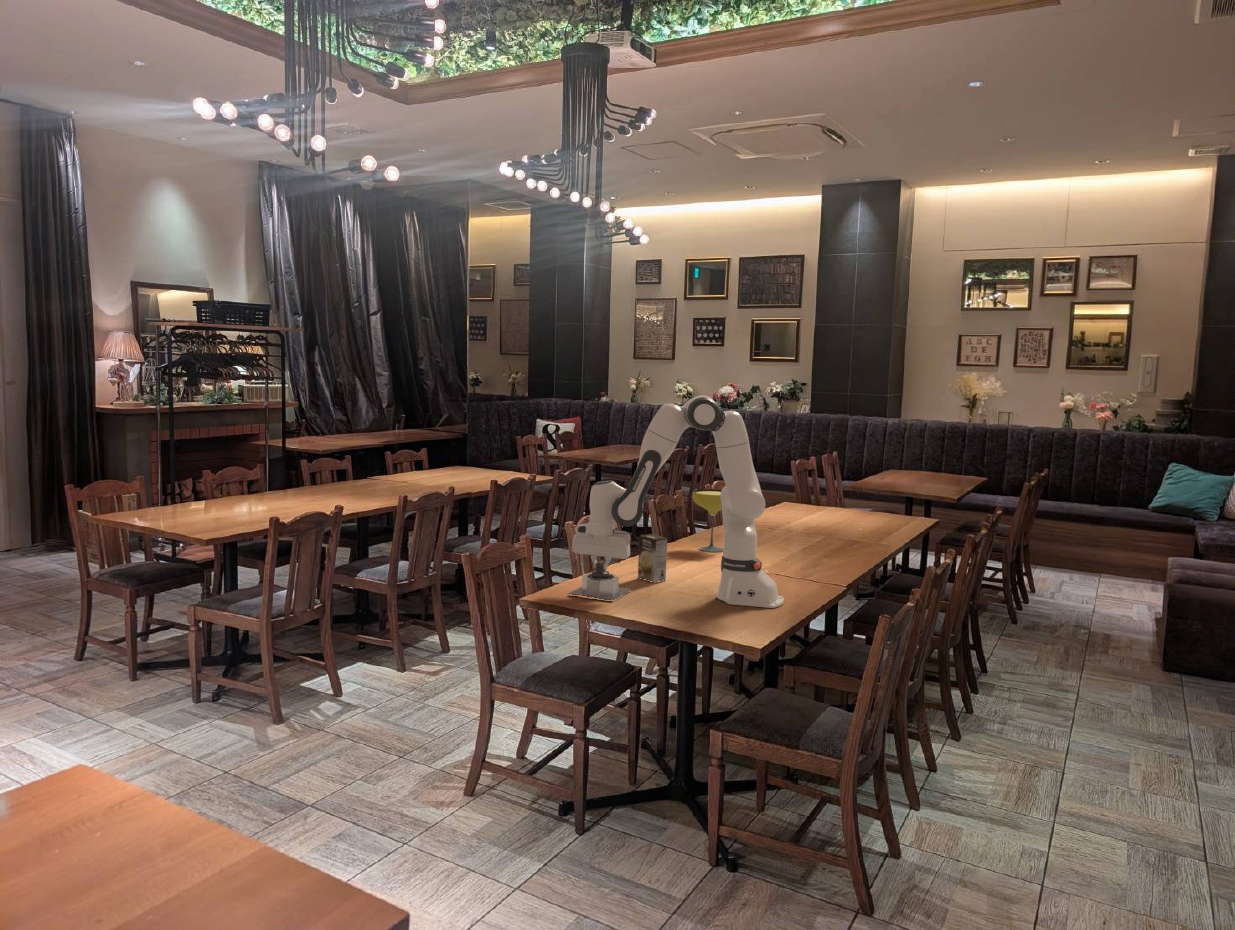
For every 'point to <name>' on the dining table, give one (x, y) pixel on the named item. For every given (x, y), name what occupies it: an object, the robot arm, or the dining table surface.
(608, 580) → the octagonal nut on plate
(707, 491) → the cocktail glass
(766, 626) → the dining table surface
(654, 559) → the coffee box
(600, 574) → the cap
